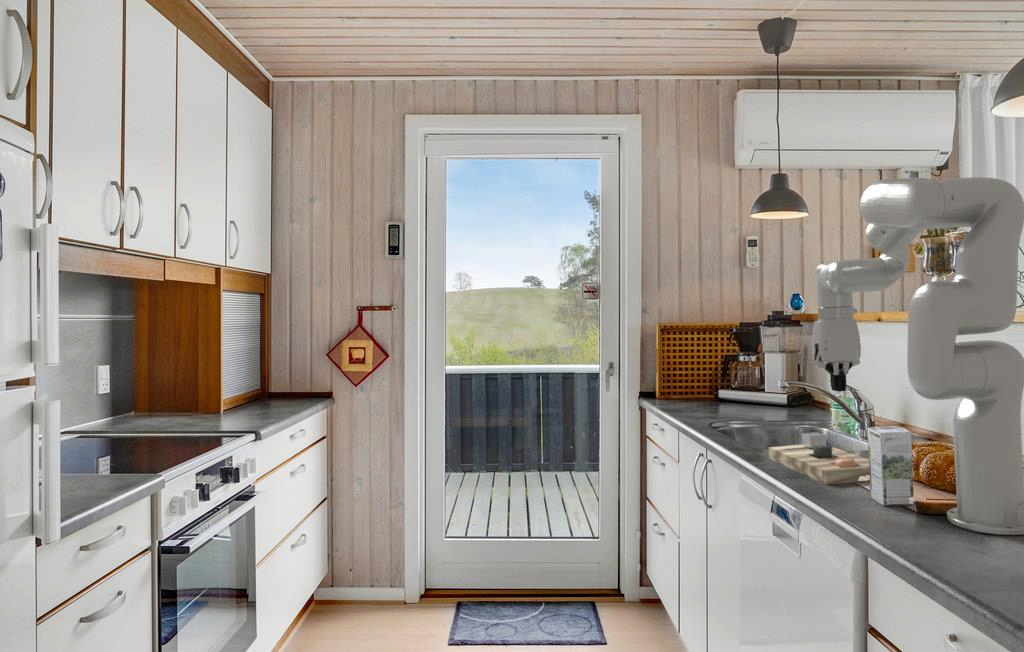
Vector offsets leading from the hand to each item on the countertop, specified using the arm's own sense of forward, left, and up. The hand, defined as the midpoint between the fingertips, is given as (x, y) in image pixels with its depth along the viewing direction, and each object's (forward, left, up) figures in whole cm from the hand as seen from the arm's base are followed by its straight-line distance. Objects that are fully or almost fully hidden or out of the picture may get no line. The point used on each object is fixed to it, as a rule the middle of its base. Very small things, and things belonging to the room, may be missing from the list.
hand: (838, 390), depth 156 cm
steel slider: (+7, -4, -15) cm, 17 cm away
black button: (+3, +4, -16) cm, 17 cm away
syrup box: (-15, +25, -18) cm, 35 cm away
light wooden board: (+3, +4, -18) cm, 19 cm away
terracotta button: (-3, +11, -17) cm, 21 cm away
